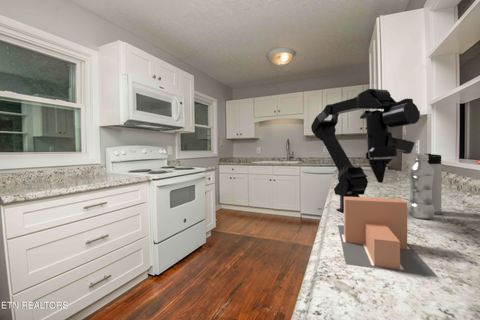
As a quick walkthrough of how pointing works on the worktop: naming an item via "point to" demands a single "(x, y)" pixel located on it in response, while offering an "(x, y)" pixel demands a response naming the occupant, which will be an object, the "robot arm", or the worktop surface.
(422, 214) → the plastic bottle
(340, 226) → the mat
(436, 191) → the travel mug
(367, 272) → the worktop surface
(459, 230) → the worktop surface
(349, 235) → the t block
